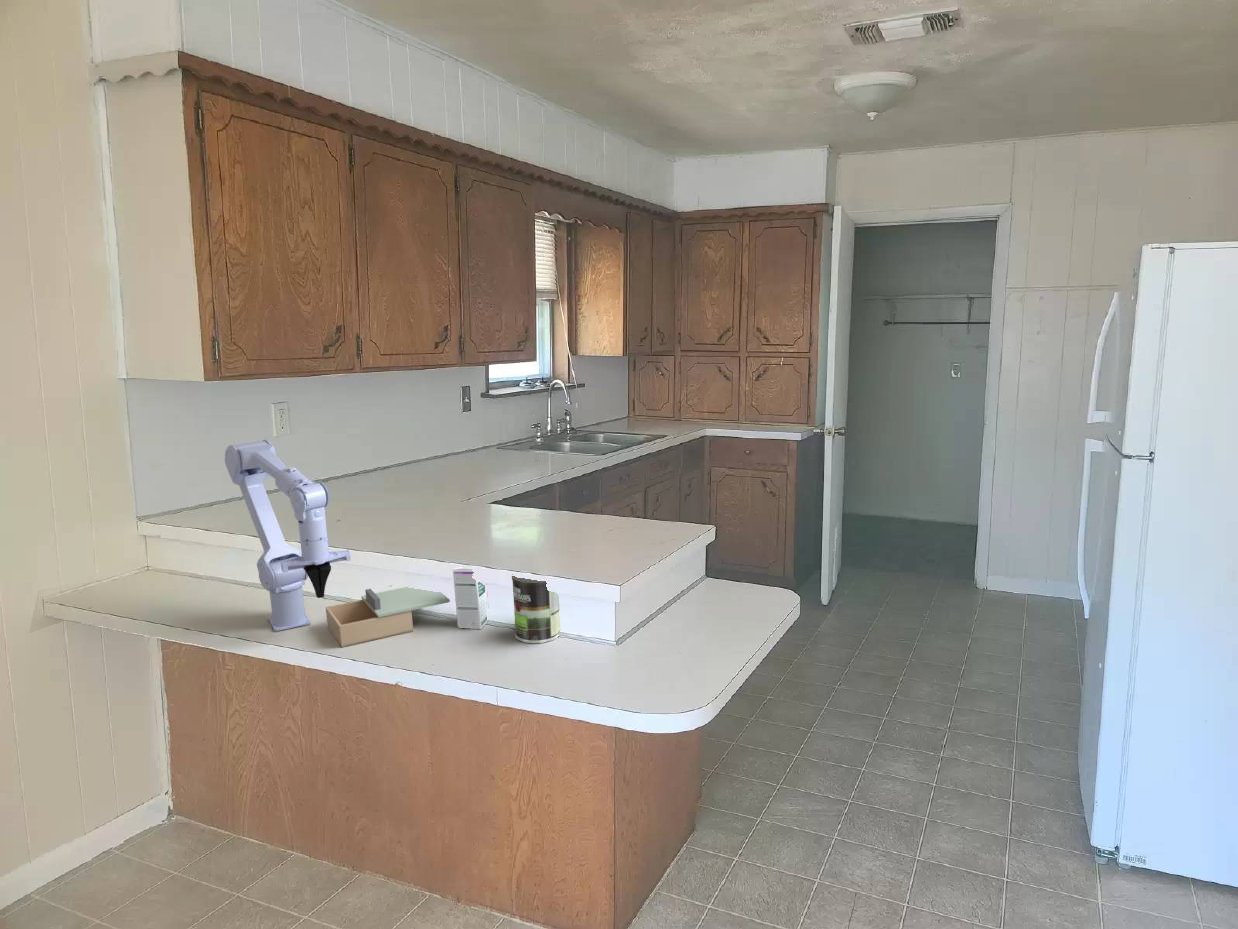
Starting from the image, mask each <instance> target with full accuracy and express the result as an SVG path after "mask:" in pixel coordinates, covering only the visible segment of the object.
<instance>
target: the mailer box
mask: <svg viewBox="0 0 1238 929" xmlns="http://www.w3.org/2000/svg"><path fill="white" fill-rule="evenodd" d="M412 611H413V610H411V611H406V612H402V613H397V614H392V615H388V616H383V617H379V618H378V617H377V615H376V614H375V613H374V612H373V611H372V610H371V609H370V607H369V606H368V605H367V604H366V603H365V602H364V601H363V599H359V600H355V601H350V602H344V603H339V604H334V605H330V606H325V614H326V615H325V616H326V623H327V625H326V626H327V629H328V630H329V632H330V633H331V634H332V635H333V637H334V639H335V640H336V641H337V643H338V644H339V646H340V647H341V648H342V647H343V648H346V647H350V646H356V645H360V644H364V643H369V642H373V641H378V640H382V639H386V638H390V637H395V636H399V635H405V634H407V633H413V632H414V623H413V614H412Z"/></svg>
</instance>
